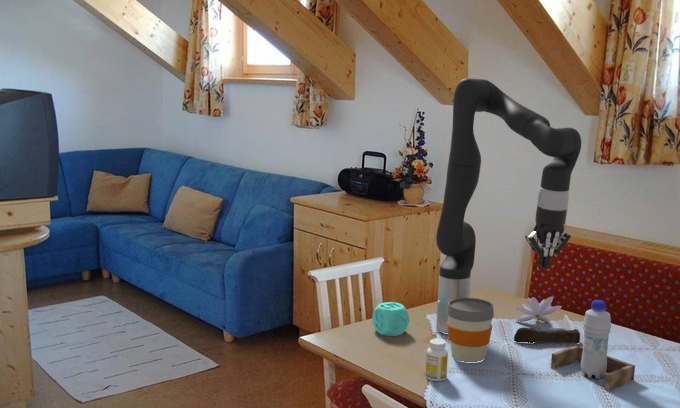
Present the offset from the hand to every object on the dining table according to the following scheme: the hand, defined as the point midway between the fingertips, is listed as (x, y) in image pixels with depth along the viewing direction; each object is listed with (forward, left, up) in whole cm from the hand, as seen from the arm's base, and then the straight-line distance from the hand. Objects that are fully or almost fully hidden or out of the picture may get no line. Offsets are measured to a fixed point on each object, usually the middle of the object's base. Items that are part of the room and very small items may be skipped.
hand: (543, 268), depth 184 cm
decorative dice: (-42, +12, -26) cm, 51 cm away
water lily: (+1, +31, -26) cm, 40 cm away
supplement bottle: (-25, -18, -26) cm, 41 cm away
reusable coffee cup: (-18, -2, -26) cm, 32 cm away
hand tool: (+3, +15, -26) cm, 31 cm away
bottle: (+14, -5, -26) cm, 30 cm away
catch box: (+13, -5, -26) cm, 30 cm away
